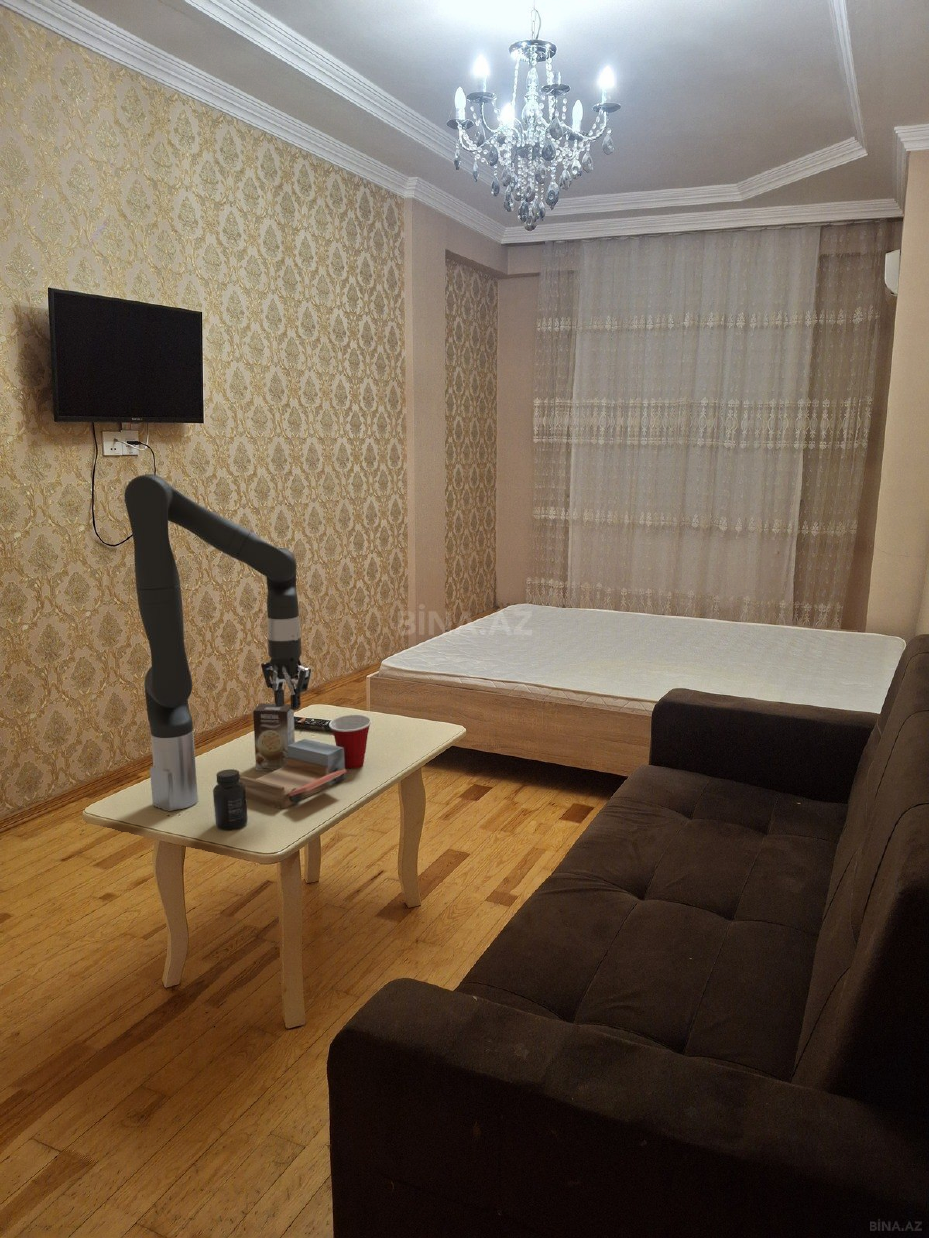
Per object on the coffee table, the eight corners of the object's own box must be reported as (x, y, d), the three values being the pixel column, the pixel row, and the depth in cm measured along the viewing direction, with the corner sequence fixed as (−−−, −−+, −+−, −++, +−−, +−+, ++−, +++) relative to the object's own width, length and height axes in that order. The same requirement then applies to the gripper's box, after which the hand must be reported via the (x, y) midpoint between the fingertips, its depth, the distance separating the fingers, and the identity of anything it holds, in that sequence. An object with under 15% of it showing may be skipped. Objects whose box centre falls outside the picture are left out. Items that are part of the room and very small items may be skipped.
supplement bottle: (250, 817, 199) (247, 766, 197) (244, 831, 192) (240, 778, 190) (219, 818, 199) (216, 767, 197) (212, 831, 192) (208, 779, 190)
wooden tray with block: (285, 809, 203) (283, 776, 202) (241, 797, 211) (239, 765, 209) (348, 779, 221) (347, 748, 220) (305, 768, 229) (304, 738, 227)
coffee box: (254, 770, 228) (251, 710, 224) (262, 762, 234) (259, 702, 231) (289, 771, 227) (286, 711, 224) (297, 762, 233) (294, 703, 230)
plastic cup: (321, 768, 229) (320, 723, 226) (347, 755, 238) (345, 712, 236) (356, 775, 224) (355, 729, 221) (381, 762, 233) (379, 717, 231)
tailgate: (289, 797, 203) (307, 791, 200) (288, 792, 203) (305, 787, 200) (329, 778, 215) (346, 772, 211) (328, 774, 215) (345, 768, 211)
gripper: (249, 635, 206) (254, 707, 209) (295, 642, 198) (299, 716, 202) (273, 629, 212) (276, 699, 215) (318, 636, 205) (321, 708, 208)
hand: (287, 707), depth 209 cm, fingers open, 4 cm apart
